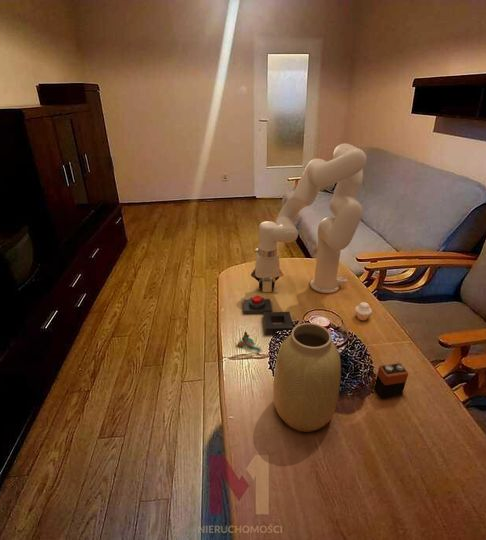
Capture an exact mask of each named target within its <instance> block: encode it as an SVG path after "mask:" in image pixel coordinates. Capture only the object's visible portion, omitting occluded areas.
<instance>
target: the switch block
mask: <svg viewBox="0 0 486 540" xmlns="http://www.w3.org/2000/svg"><path fill="white" fill-rule="evenodd" d="M253 297H254V296H252V297H250V298H249V299H248V298H247V299H243V300H242V302H243V303H242V306H243V307H242V308H243V315H263V312H273V310H272V303H271V299H270V298H264V297H262V296H260V297H261V298H262V302H261V303H260V304H255V303H253Z"/></svg>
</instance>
